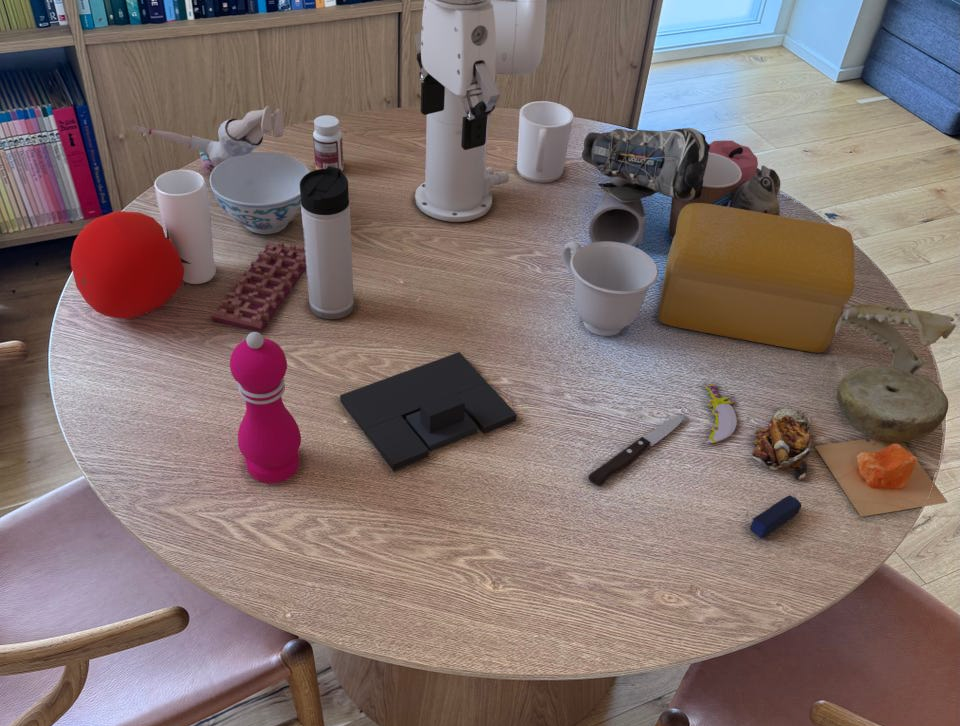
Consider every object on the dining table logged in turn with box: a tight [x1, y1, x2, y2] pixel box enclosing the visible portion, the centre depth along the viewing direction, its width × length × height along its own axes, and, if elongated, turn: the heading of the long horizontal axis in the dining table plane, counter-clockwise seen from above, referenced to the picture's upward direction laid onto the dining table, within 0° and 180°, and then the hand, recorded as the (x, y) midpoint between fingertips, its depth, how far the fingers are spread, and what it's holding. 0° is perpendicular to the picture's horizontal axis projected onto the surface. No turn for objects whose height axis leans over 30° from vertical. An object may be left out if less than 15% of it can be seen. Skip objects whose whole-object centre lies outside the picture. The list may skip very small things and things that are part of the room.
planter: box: [588, 177, 647, 247], centre depth 154 cm, size 8×9×26 cm
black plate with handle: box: [405, 392, 479, 453], centre depth 117 cm, size 7×6×4 cm
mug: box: [516, 100, 574, 184], centre depth 158 cm, size 11×9×10 cm
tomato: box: [70, 210, 191, 320], centre depth 127 cm, size 16×14×14 cm
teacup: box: [561, 240, 659, 337], centre depth 132 cm, size 12×15×10 cm
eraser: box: [749, 494, 802, 539], centre depth 111 cm, size 2×2×7 cm
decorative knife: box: [704, 383, 737, 444], centre depth 123 cm, size 12×1×5 cm
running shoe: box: [581, 127, 710, 211], centre depth 141 cm, size 12×28×12 cm
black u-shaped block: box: [339, 351, 518, 472], centre depth 120 cm, size 18×14×1 cm
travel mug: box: [300, 166, 355, 320], centre depth 126 cm, size 6×7×20 cm
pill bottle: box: [312, 114, 344, 172], centre depth 156 cm, size 5×5×8 cm
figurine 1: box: [131, 105, 285, 174], centre depth 143 cm, size 29×6×30 cm
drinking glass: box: [153, 169, 217, 285], centre depth 131 cm, size 7×7×15 cm
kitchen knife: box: [588, 414, 685, 487], centre depth 118 cm, size 18×1×2 cm
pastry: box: [751, 407, 812, 481], centre depth 119 cm, size 7×12×4 cm, turn 163°
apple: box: [708, 140, 759, 201], centre depth 157 cm, size 10×9×10 cm
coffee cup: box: [668, 152, 742, 241], centre depth 147 cm, size 10×10×12 cm
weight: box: [836, 365, 949, 443], centre depth 123 cm, size 14×13×5 cm
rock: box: [814, 437, 949, 518], centre depth 116 cm, size 12×12×4 cm
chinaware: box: [209, 151, 311, 235], centre depth 144 cm, size 15×15×8 cm
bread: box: [657, 203, 855, 354], centre depth 133 cm, size 24×13×15 cm, turn 78°
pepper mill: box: [229, 331, 302, 484], centre depth 105 cm, size 7×7×20 cm
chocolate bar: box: [211, 240, 307, 333], centre depth 135 cm, size 7×19×2 cm, turn 164°
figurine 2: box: [729, 165, 781, 216], centre depth 145 cm, size 9×19×10 cm
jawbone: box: [835, 303, 957, 374], centre depth 127 cm, size 12×13×8 cm
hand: (452, 128), depth 117 cm, fingers open, 9 cm apart
